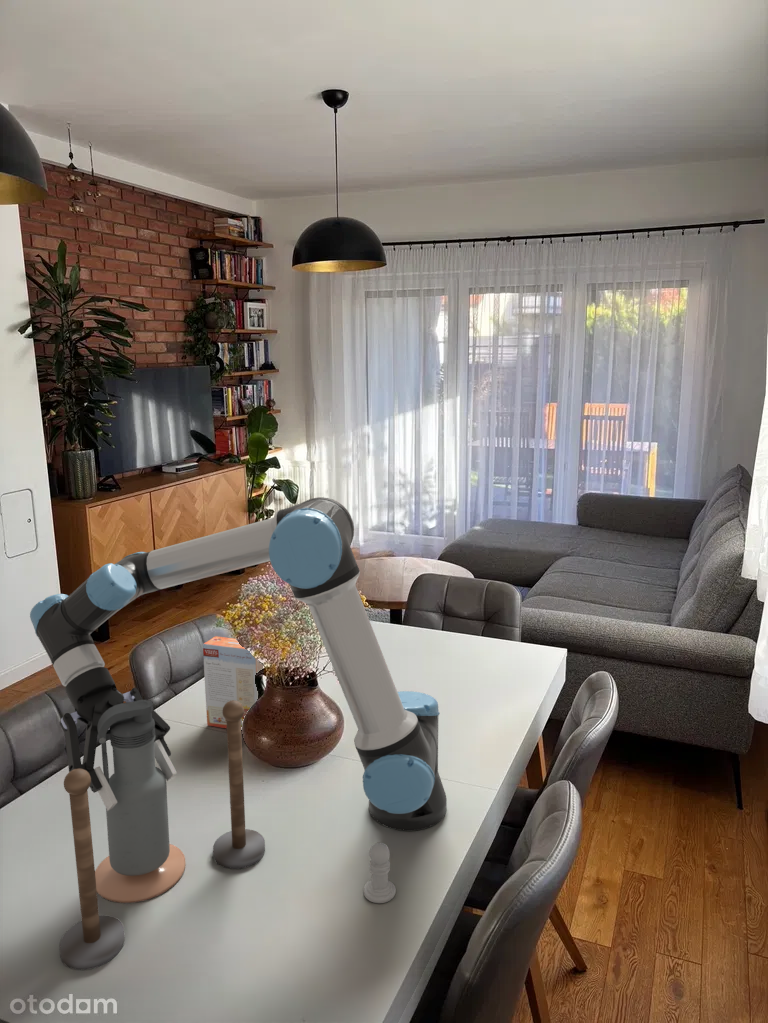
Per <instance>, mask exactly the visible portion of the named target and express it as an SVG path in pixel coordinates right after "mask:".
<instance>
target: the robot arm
mask: <svg viewBox="0 0 768 1023" xmlns="http://www.w3.org/2000/svg"><path fill="white" fill-rule="evenodd" d="M354 536H355V525H354V520H353V518H352V515H351V513H350V512H349V510H348V509H347V508H346V506H344V505H343V504H341V503H340V502H338V501H337V500H335V499H332V498H329V497H324V496H323V497H313V498H310V499H306V500H305V501H303V502H300V503H298V504H295V505H293V506H289V507H287V508H283V509H279V510H277V511H276V512H275V514H274V515H273V517H271V518H267V519H264V520H260V521H256V522H253V523H249V524H245V525H242V526H238V527H234V528H230V529H227V530H223V531H219V532H217V533H216V532H215V533H211V534H209V535H206V536H201V537H197V538H193V539H191V540H187V541H183V542H180V543H175V544H172V545H168V546H165V547H161V548H157V549H154V550H150V551H147V552H146V551H138V552H134V553H131V554H128V555H126V556H124V557H123V558H122V559H120V560H119V561H117V562H116V563H112V562H111V563H106V564H104V565H102V566H101V567H100V568H99V569H97V570H96V571H94V572H92V573H91V574H90V575H89V576H88V577H87V579H86V580H85V581H84V582H82V583H81V584H80V585H79V586H78V587H77V588H76V589H75V590H73V592H72V593H70V594H69V595H68V594H64V593H57V594H52V595H49V596H47V597H46V598H45V599H43V600H40V601H38V602H37V603H36V604H35V605H34V606H33V607H32V608H31V610H30V613H29V617H30V621H31V623H32V626H33V629H34V631H35V632H34V633H35V635H36V637H37V638H38V640H39V642H40V643H41V645H42V647H43V649H44V650H45V653H46V654H47V656H48V658H49V660H50V662H51V664H52V666H53V668H54V671H55V673H56V675H57V677H58V678H59V681H60V683H61V685H62V686H63V687H65V688H64V691H65V694H66V695H67V698H68V700H69V702H70V703H71V705H72V706H73V708H74V712H71V713H69V712H66V713H64V714H63V716H62V717H61V719H60V720H59V722H58V723H59V726H60V727H61V729H62V731H63V734H64V741H65V749H66V757H67V765H68V773H69V772H70V771H72V770H74V769H84V770H86V771H87V772H88V773H89V774H90V777H91V784H90V787H89V789H90V790H91V792H93V793H94V794H96V793H97V792H98V794H99V796H100V798H101V800H102V802H103V805H104V806H105V810H106V809H107V811H108V810H110V809H112V808H113V807H114V806H115V805H116V804H117V800H116V798H115V796H114V794H113V792H112V790H111V788H110V786H109V784H108V782H107V780H106V778H105V776H104V772H103V769H102V768H101V766H100V765H99V766H97V767H94V766H95V759H96V753H97V752H96V751H97V750H96V749H97V744H98V742H97V741H98V730H97V725H98V722H99V719H100V718H101V716H102V715H103V713H104V712H105V711H106V710H108V709H109V708H111V707H113V706H115V705H118V704H122V703H127V702H134V701H139V700H144V699H143V697H142V696H141V692H140V691H139V689H138V688H137V687H132V688H131V690H130V691H127V692H124V693H122V692H120V691H119V690H118V689H117V685H116V683H115V680H114V679H113V677H112V675H111V673H110V671H109V669H108V668H107V667H105V665H106V663H105V661H104V659H103V656H101V655H102V654H100V652H99V650H98V648H97V646H96V645H95V642H94V640H93V637H92V636H91V634H92V633H93V632H94V631H95V630H97V629H98V628H99V627H100V626H101V625H103V624H104V623H105V622H106V621H107V620H109V619H110V618H112V616H114V615H115V614H116V613H117V612H119V611H120V610H121V609H123V608H124V607H126V606H127V605H129V604H130V603H132V602H133V601H135V600H136V599H137V598H139V597H140V596H143V595H145V594H149V593H154V592H156V591H160V590H163V589H167V588H171V587H175V586H178V585H182V584H186V583H189V582H193V581H198V580H202V579H205V578H210V577H214V576H217V575H220V574H225V573H229V572H232V571H236V570H241V569H244V568H248V567H252V566H255V565H256V566H257V565H259V564H263V563H267V562H270V563H271V564H270V565H271V567H272V569H273V570H274V572H275V574H276V575H277V577H279V578H280V579H281V580H282V581H283V582H286V583H287V584H289V587H290V589H291V592H292V594H293V597H294V599H295V600H297V601H300V602H303V603H304V604H306V605H307V606H308V609H309V611H310V614H311V616H312V618H313V621H314V624H315V627H316V629H317V630H318V634H319V636H320V639H321V641H322V644H323V646H324V649H325V651H326V653H327V656H328V658H329V661H330V663H331V665H332V669H333V670H334V673H335V676H336V679H337V681H338V683H339V685H340V688H341V691H342V693H343V696H344V698H345V700H346V703H347V706H348V708H349V710H350V713H351V715H352V717H353V720H354V722H355V725H356V728H357V731H356V733H355V736H354V738H353V743H354V744H353V745H354V746H355V749H356V752H357V754H358V756H359V758H360V762H361V764H362V766H363V769H364V772H363V774H362V787H363V788H362V789H363V791H364V794H365V796H366V798H367V799H368V811H369V814H370V816H371V817H372V818H373V820H375V821H376V822H377V823H379V824H380V825H382V826H384V827H386V828H390V829H393V830H398V831H405V832H406V831H409V832H410V831H411V832H412V831H420V830H424V829H427V828H431V827H432V826H435V825H436V824H439V822H440V821H442V820H443V818H444V817H445V815H446V813H447V808H448V807H447V805H448V804H447V803H448V802H447V795H446V791H445V788H444V785H443V782H442V779H441V776H440V773H439V716H440V711H439V703H438V701H437V699H436V698H435V697H433V696H432V695H430V694H426V693H424V692H419V691H412V690H411V691H409V690H408V691H407V690H404V691H400V690H399V691H398V689H397V687H396V684H395V682H394V679H393V677H392V675H391V672H390V669H389V666H388V665H387V661H386V659H385V656H384V654H383V652H382V650H381V646H380V644H379V642H378V639H377V636H376V633H375V631H374V629H373V626H372V623H371V621H370V618H369V615H368V613H367V611H366V609H365V606H364V603H363V600H362V598H361V595H360V593H359V591H358V590H359V589H358V588H357V586H356V584H357V581H358V580H359V577H360V574H361V571H360V568H359V565H358V563H357V560H356V557H355V556H354V553H353V550H352V547H351V545H352V543H353V540H354ZM151 713H152V718H153V719H154V721H155V740H154V751H155V762H157V764H158V766H159V769H160V770H161V771H162V772H163V773H164V775H165V777H166V782H168V781H170V780H172V779H173V778H174V777H175V775H176V774H178V772H177V771H176V768H175V766H174V764H173V763H172V761H171V758H170V757H171V755H172V752H171V750H170V748H169V746H168V744H167V743H166V740H165V736H166V735H167V734H168V733H169V731H171V726H170V724H169V723H167V722H166V721H165V720H164V719H163V717H161V716H160V714H159V713H157V712H156V710H155V709H153V711H152V712H151ZM78 721H80V722H83V723H84V724H86V726H85V739H84V740H85V741H84V747H83V755H82V756H83V757H82V758H81V751H80V744H79V736H78V728H77V724H78ZM81 760H82V761H81Z"/></svg>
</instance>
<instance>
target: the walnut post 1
mask: <svg viewBox="0 0 768 1023" xmlns="http://www.w3.org/2000/svg"><path fill="white" fill-rule="evenodd" d="M90 784H91V777H90V774H89V773H88V772H87V771H86V770H84V769H74V770H72V771H70V772H69V771H68V773H67V774H66V775H65V776H64V779H63V787H64V788H63V789H64V790H65V792H66V793H68V795H69V802H70V804H69V805H70V813H71V823H72V824H71V825H72V836H73V843H74V844H73V845H74V855H75V856H74V857H75V866H76V873H77V874H76V877H77V885H78V896H79V908H80V917H81V920H80V921H78V922H75V923H73V925H71V926H70V927H69V928H68V929H67V930H66V931H65V933H64V934H63V935H62V937H61V939H60V942H59V954H60V955H59V956H60V960H61V962H62V963H63V965H64V966H66V967H67V968H68V969H69V968H70V969H73V970H75V971H76V970H78V971H79V970H80V971H85V970H91V969H94V968H95V969H96V968H97V967H100V966H103V965H104V964H107V963H108V962H110V961H111V960H112V959H114V958H115V957H116V956H117V955H118V954H119V953H120V952H121V950H122V949H123V947H124V944H125V941H126V939H125V938H126V937H125V927H124V924H123V922H122V921H121V919H119V918H117V917H115V916H113V915H109V914H107V915H106V914H104V915H103V914H102V915H100V913H99V903H98V902H99V901H98V900H99V899H98V893H97V889H96V878H95V871H96V868H95V859H94V847H93V837H92V836H93V834H92V826H91V814H90V805H89V804H90V803H89V792H88V790H89V789H90Z"/></svg>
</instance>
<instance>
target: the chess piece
mask: <svg viewBox="0 0 768 1023" xmlns="http://www.w3.org/2000/svg"><path fill="white" fill-rule="evenodd" d="M390 854H391V853H390V848H389V847H388V845H387V844H386V843H384V842H376V843H374V844H372V845H371V847H370V850H369V859H370V861H369V863H368V864H369V868H368V869H369V872H370V873H371V879H370V880H368V881H367V882H366V883H365V884H364V886H363V888H362V891H363V892H362V893H363V895H364V897H365V898H366V900H368V901H370V902H372V903H374V904H384V903H388V902H390V901H391V900H393V899H394V897H395V896H396V892H397V889H396V886H395V884H394V883H393V882H392V881H391V880H389V876H388V875H389V872H390V870H391V867H390V865H391V862H390V856H391V855H390Z"/></svg>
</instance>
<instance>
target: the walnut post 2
mask: <svg viewBox="0 0 768 1023" xmlns="http://www.w3.org/2000/svg"><path fill="white" fill-rule="evenodd" d="M222 713H223V716H224V718H225V719H226V721H227V728H226V738H227V759H228V763H227V764H228V765H227V766H228V780H229V781H228V783H229V784H228V785H229V803H230V804H229V805H230V807H229V808H230V824H231V826H230V827H231V828H230V829H231V830H230V831H227V832H226V833H223V834H221V835H220V836H219V837H217V839H216V840H215V841H214V842H213V843H214V844H213V846H212V851H213V859H214V860H213V861H214V862H215V863H216V864H217V865H218V866H220V867H223V868H224V869H231V870H239V869H240V870H241V869H245V868H248V867H251V866H253V865H255V864H256V863H259V861H260V860H261V859H262V858H263V856H265V852H266V841H265V837H264V836H263V835H262V834H261V833H260V832H259V831H256V830H254V829H249V828H246V813H245V812H246V811H245V810H246V809H245V789H244V788H245V787H244V785H245V784H244V767H243V765H244V763H243V762H244V761H243V743H242V742H243V741H242V740H243V739H242V738H243V737H242V731H241V718H242V716H243V714H244V708H243V705H242V704H241V703H240V702H239V701H236V700H232V701H229V702H227V703H226V704H225V705H224V707H223V711H222Z"/></svg>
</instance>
